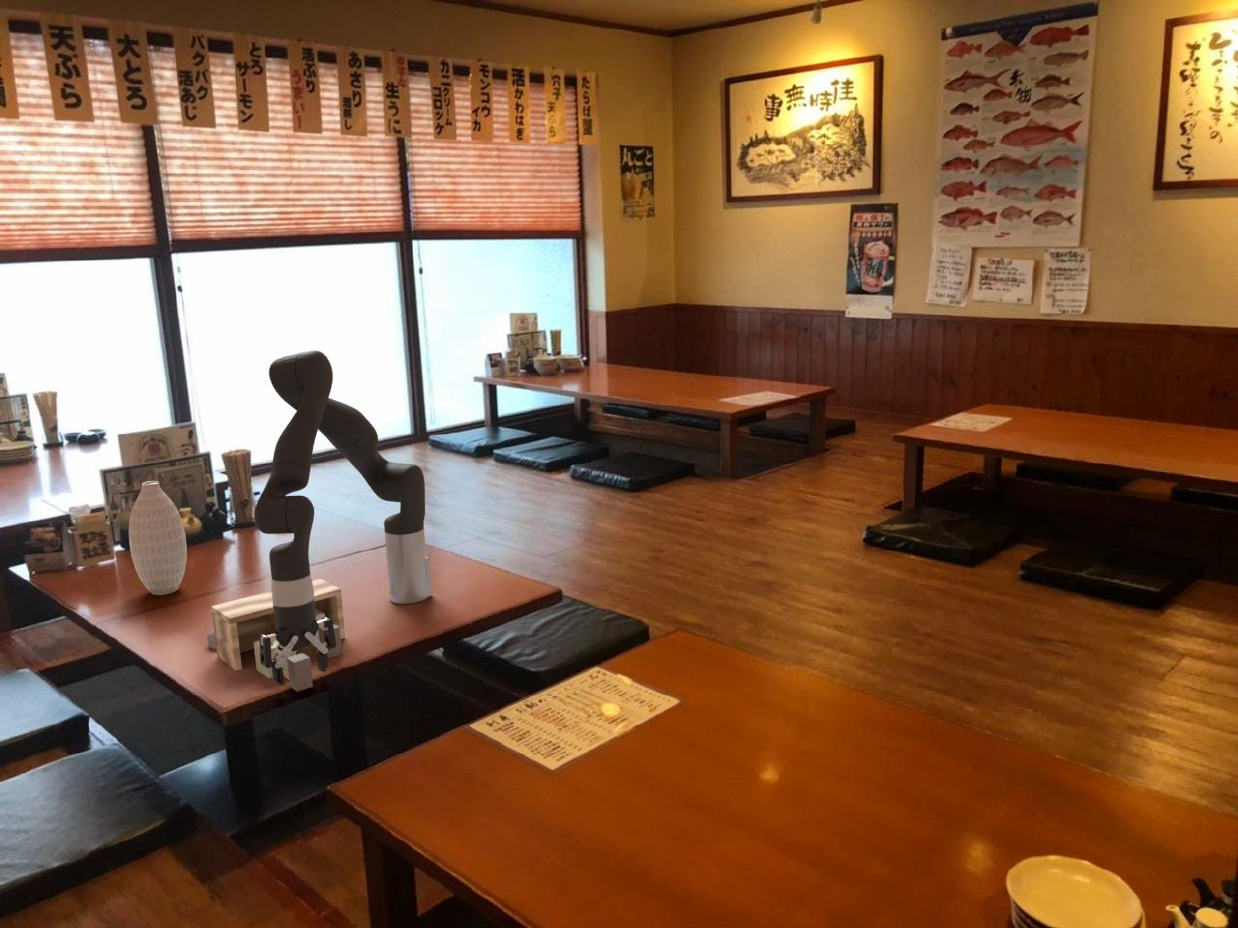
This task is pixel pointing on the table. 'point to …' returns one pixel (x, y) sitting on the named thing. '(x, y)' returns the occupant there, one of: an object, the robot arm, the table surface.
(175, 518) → the vase
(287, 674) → the sage block
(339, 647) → the cream block
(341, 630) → the shelf
